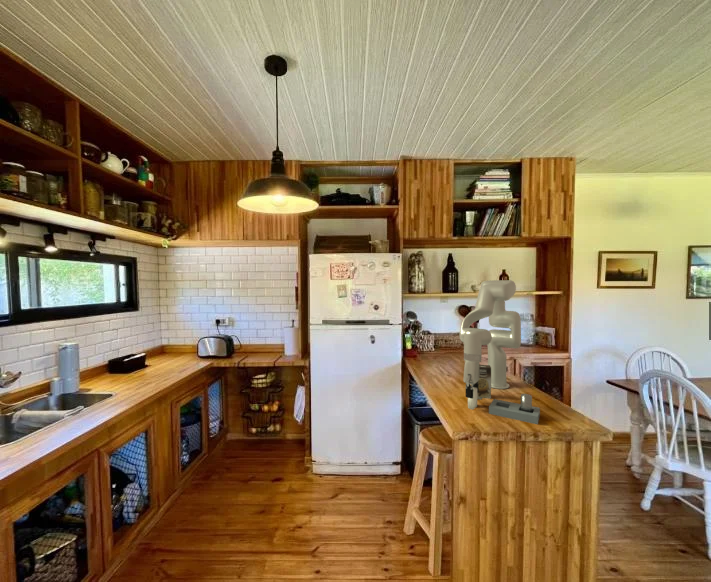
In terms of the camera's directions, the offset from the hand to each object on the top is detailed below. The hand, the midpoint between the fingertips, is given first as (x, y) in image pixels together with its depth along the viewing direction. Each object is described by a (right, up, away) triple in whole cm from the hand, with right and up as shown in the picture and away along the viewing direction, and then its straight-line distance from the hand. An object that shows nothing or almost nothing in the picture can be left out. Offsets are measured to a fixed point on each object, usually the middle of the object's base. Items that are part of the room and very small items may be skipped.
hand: (472, 394), depth 138 cm
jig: (+15, -6, -9) cm, 18 cm away
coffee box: (+10, -6, +14) cm, 18 cm away
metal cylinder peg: (+18, -5, -12) cm, 22 cm away
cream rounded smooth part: (0, -6, 0) cm, 6 cm away
